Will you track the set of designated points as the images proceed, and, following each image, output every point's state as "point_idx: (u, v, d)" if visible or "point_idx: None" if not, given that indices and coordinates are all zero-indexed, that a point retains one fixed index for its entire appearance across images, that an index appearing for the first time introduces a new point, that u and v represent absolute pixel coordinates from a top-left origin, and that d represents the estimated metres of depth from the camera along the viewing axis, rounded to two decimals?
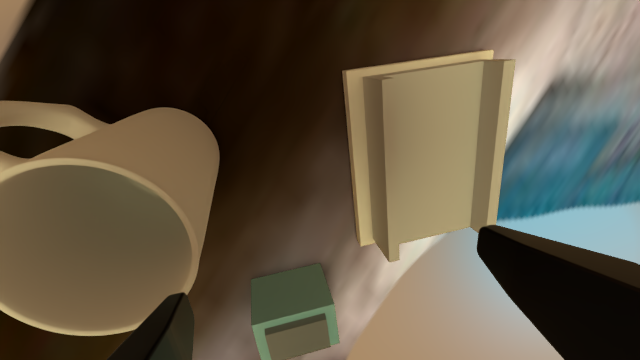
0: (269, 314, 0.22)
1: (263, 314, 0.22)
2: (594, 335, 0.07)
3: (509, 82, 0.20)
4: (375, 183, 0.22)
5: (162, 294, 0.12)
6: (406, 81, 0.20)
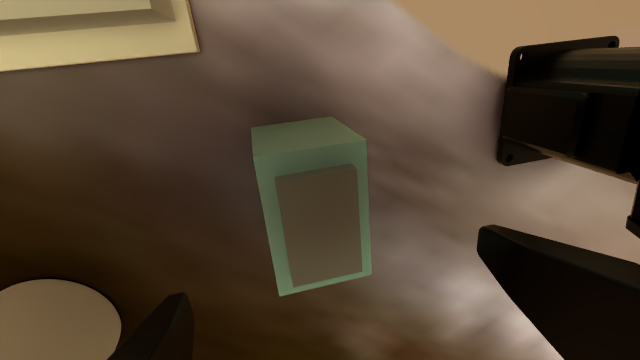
0: None
1: None
2: (594, 335, 0.07)
3: None
4: None
5: None
6: None
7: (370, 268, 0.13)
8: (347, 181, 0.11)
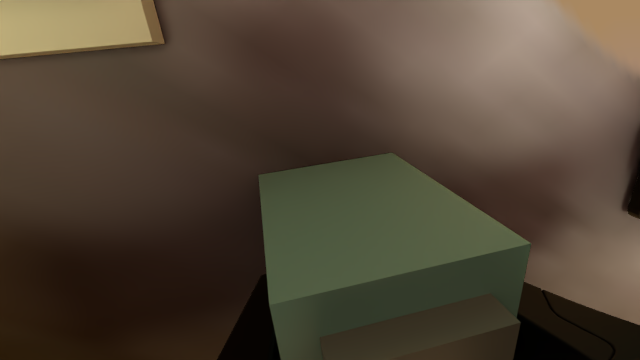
0: None
1: None
2: None
3: None
4: None
5: None
6: None
7: None
8: (494, 349, 0.04)
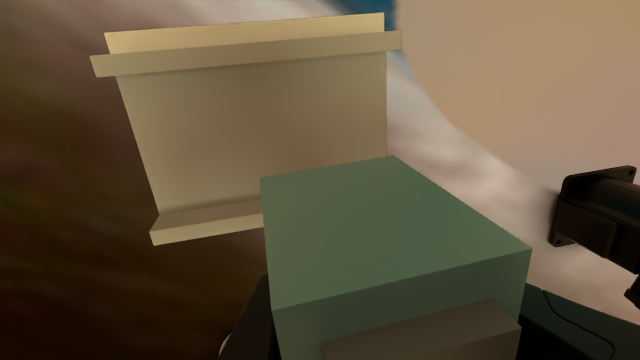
0: None
1: None
2: None
3: (127, 59, 0.12)
4: None
5: None
6: (161, 185, 0.16)
7: None
8: (495, 354, 0.04)
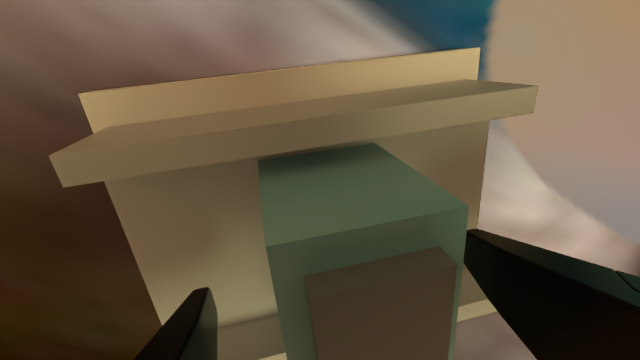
0: None
1: None
2: (570, 342, 0.07)
3: (115, 156, 0.07)
4: None
5: None
6: (171, 305, 0.11)
7: None
8: (438, 285, 0.06)
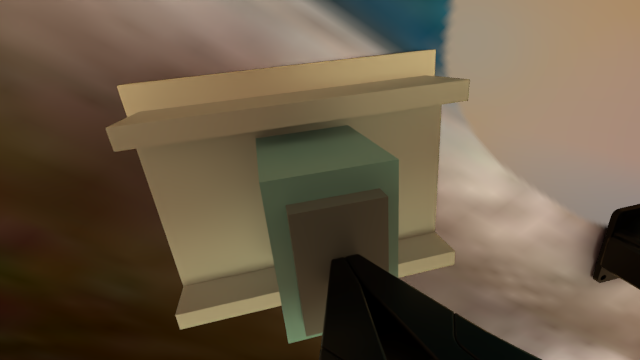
0: None
1: None
2: None
3: (151, 129, 0.10)
4: None
5: None
6: (186, 255, 0.14)
7: None
8: (376, 211, 0.09)
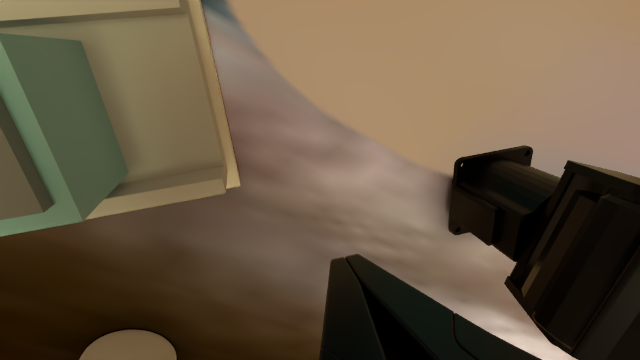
0: None
1: None
2: None
3: None
4: None
5: None
6: None
7: (78, 213, 0.11)
8: None
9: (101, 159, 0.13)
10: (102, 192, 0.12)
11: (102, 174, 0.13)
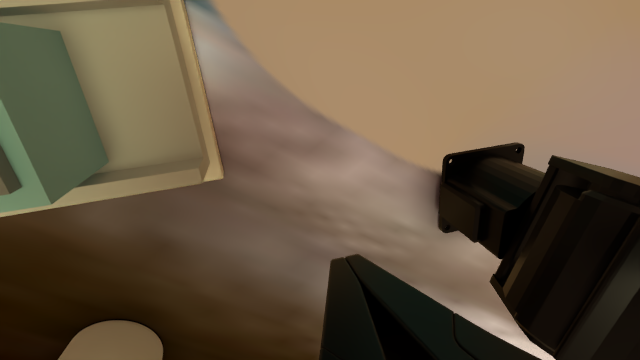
0: None
1: None
2: None
3: None
4: None
5: None
6: None
7: (46, 196, 0.11)
8: None
9: (76, 146, 0.13)
10: (76, 178, 0.13)
11: (77, 161, 0.13)
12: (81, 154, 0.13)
